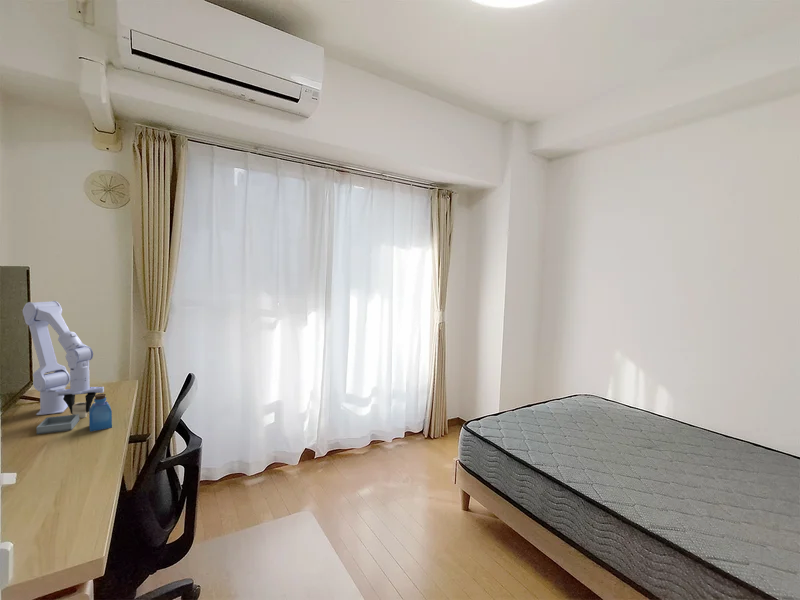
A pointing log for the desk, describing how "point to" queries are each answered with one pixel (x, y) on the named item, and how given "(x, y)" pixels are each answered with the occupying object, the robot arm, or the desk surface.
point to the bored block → (79, 409)
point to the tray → (58, 424)
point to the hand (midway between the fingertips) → (80, 412)
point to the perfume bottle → (100, 414)
